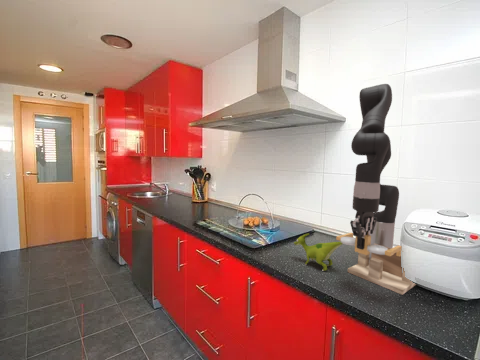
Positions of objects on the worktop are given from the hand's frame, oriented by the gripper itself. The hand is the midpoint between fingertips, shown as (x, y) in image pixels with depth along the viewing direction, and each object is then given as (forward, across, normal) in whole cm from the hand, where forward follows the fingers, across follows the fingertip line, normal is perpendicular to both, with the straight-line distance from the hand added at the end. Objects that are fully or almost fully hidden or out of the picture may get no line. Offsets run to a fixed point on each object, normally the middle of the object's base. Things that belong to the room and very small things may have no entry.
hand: (362, 247), depth 80 cm
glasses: (+2, -3, 0) cm, 3 cm away
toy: (+15, -5, -20) cm, 26 cm away
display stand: (+15, -16, 0) cm, 22 cm away
